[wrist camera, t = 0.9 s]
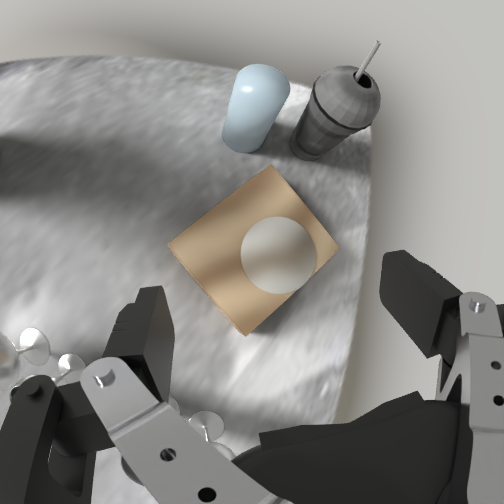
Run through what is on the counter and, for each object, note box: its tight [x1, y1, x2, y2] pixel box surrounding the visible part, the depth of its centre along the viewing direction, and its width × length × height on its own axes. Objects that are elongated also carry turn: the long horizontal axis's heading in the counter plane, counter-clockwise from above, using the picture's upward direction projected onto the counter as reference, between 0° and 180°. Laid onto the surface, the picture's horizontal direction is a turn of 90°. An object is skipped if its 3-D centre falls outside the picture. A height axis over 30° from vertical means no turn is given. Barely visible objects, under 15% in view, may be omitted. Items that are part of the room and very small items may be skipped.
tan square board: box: [168, 165, 340, 336], centre depth 34 cm, size 12×14×4 cm
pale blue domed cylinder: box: [222, 64, 290, 153], centre depth 32 cm, size 5×5×11 cm
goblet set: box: [0, 328, 236, 486], centre depth 24 cm, size 28×6×13 cm, turn 68°
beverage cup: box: [290, 40, 381, 161], centre depth 30 cm, size 7×7×20 cm
